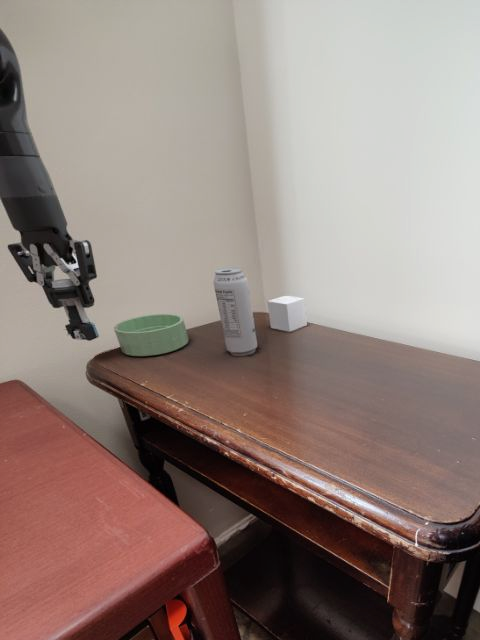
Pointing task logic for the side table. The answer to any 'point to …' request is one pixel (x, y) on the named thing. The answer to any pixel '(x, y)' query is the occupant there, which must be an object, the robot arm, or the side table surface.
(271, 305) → the white cube
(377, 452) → the side table surface
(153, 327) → the bowl
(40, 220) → the robot arm
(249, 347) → the energy drink can
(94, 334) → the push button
